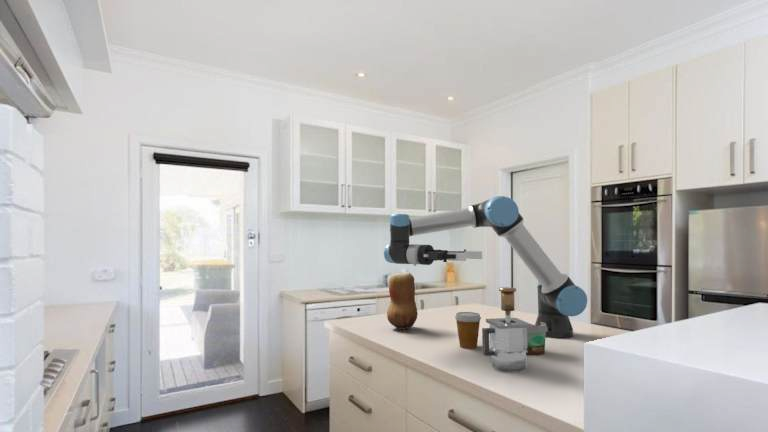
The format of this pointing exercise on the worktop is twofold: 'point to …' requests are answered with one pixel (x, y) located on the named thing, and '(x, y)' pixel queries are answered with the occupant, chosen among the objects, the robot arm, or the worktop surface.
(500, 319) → the press carafe
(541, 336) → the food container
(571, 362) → the worktop surface
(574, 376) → the worktop surface
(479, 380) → the worktop surface
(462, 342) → the disposable coffee cup
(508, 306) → the plunger
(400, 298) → the butternut squash
